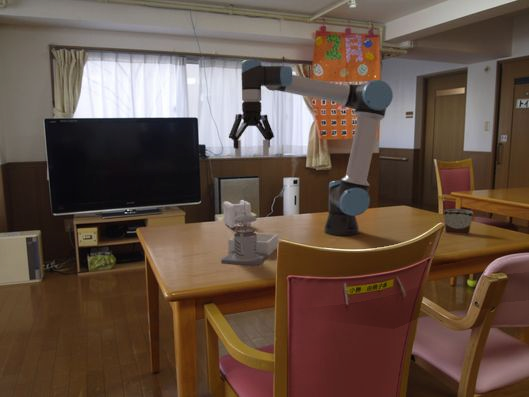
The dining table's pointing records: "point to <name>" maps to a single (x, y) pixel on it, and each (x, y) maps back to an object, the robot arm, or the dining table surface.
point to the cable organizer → (235, 212)
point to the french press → (245, 238)
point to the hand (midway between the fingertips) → (252, 156)
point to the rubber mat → (256, 262)
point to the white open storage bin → (259, 243)
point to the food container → (458, 221)
